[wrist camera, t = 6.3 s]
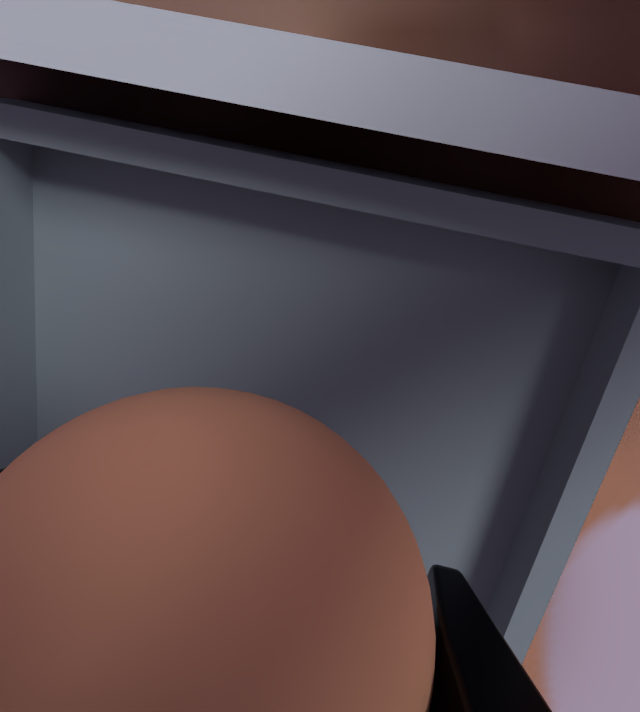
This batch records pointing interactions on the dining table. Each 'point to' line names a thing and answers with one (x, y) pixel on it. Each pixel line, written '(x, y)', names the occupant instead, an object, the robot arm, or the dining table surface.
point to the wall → (330, 81)
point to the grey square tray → (330, 323)
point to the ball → (207, 566)
